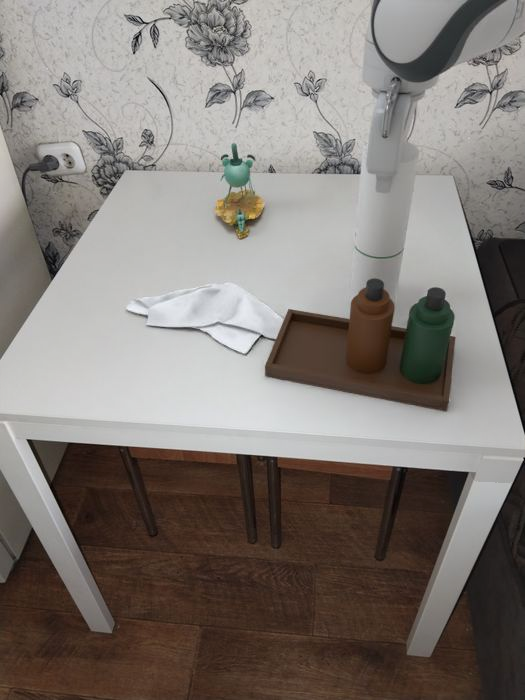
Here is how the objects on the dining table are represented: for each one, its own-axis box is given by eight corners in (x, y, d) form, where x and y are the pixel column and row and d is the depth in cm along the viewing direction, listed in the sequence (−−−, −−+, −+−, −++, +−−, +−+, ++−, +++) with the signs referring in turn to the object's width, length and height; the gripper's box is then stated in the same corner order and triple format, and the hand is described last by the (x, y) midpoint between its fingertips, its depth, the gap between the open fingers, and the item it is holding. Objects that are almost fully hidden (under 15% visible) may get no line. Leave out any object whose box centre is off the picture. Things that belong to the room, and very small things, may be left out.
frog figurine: (202, 238, 108) (194, 158, 99) (225, 198, 122) (220, 124, 113) (253, 241, 106) (250, 160, 97) (271, 200, 120) (269, 126, 111)
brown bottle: (388, 349, 84) (400, 273, 75) (382, 377, 81) (394, 300, 71) (350, 342, 86) (357, 267, 76) (342, 369, 82) (348, 293, 73)
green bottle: (442, 359, 83) (461, 282, 73) (439, 387, 79) (458, 310, 69) (402, 352, 84) (415, 275, 75) (396, 379, 80) (410, 303, 71)
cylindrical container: (393, 288, 95) (416, 138, 78) (396, 317, 90) (421, 164, 73) (349, 286, 96) (362, 138, 78) (349, 315, 91) (363, 163, 73)
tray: (453, 346, 85) (455, 336, 84) (446, 411, 77) (449, 401, 75) (288, 318, 91) (288, 308, 89) (265, 376, 82) (264, 366, 81)
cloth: (306, 306, 92) (306, 295, 90) (268, 365, 83) (268, 354, 82) (166, 267, 101) (164, 256, 99) (118, 316, 92) (115, 305, 91)
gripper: (419, 101, 60) (401, 218, 70) (437, 38, 74) (420, 143, 84) (358, 96, 62) (349, 212, 72) (386, 35, 76) (376, 139, 85)
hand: (387, 174), depth 78 cm, fingers closed on cylindrical container, 7 cm apart
